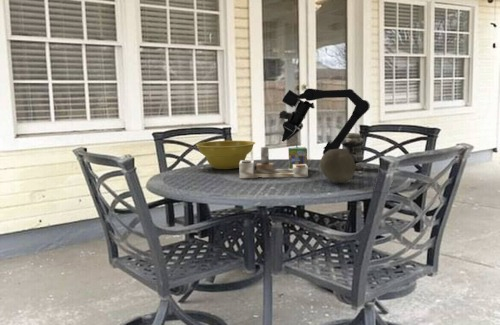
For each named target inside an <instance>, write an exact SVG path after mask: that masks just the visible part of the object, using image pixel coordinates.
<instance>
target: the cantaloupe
mask: <svg viewBox="0 0 500 325" xmlns="http://www.w3.org/2000/svg"><path fill="white" fill-rule="evenodd" d="M320 168H321V171H322V174H323V175H324V177H326V178H327V179H328V180H329V181H330V182H332V183H335V184H339V185H340V184H345V183H347V182H350V181H351V180H352V178H353V177H354V173H355V171H356V170H355V162H354V160H353V158H352V155H351V154H350V153H349V152H348V151H346V150H344V149H342V148H339V149H332V150H329V151H327V152H326V153H325V154H324V155H323V154H322V157H321V158H320Z"/></svg>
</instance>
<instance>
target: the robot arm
mask: <svg viewBox="0 0 500 325" xmlns="http://www.w3.org/2000/svg"><path fill="white" fill-rule="evenodd" d="M332 98H333V99H336V98H348V100H350V101H351V103H352V104H354V105H355V106H354V108H353V111H352V113H351V116H350V117H349V118H348V120H347V121H346V122H345V123H344V126H342V128H341V129H340V131H339V132H338V133H337V135H336V137H335V138H334V139H333V140H329V141H327V143H326V145H325V146H324V147H323V152H322V156H323V155H324V154H325V153H326V152H327V151H329V150H332V149H341V145H342V144H341V143H342V142H343V140H344V139H345V138H346V136H347V135H348V133H351V130H352V129H353V128H354V126H355V125H356V123H357V122H358V121H359V120H360V119H361V118H362V117H363V116H364V115H365V114H366V113H367V112H368V111H369V110H370V108H371V104H370V102H369V101H368V100H366V99H363V98H362V97H361V96H359V95H358V94H357V92H355V90H354V89H352V88H351V89H350V88H348V89H327V90H323V89H318V88H306V89H305V90H304V91H303V92H302V93H300V94H298V93H296V92H294V91H293V90H291V89H288V91H287V93H285V95H283V98H282V103H284V104H285V105H287V106H288V107H289V108H290V107H291V108H294V107H295V110H293V111H292V112H287V110H282V111H280V112H279V113H278V115H279V119H284V120H285V121H283V123H282V128H283V134H282V137H281V142H285V141H286V140H287V141H289V140H290V139H291V138H292V137H294V136H295V135H296V134H298V133H299V132H300V131H301V130H302V129H303V128H304V124H303V120H305V119H306V116H307V114H308V112H309V111H310V109H313V110H314V109H315V108H316V107H315V104H314V102H311V101H316V100H321V99H332Z"/></svg>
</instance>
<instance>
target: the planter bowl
mask: <svg viewBox="0 0 500 325" xmlns="http://www.w3.org/2000/svg"><path fill="white" fill-rule="evenodd" d="M254 145H256V142H255V141H251V140H215V141H213V140H212V141H205V142H200V143H196V144H195V146H197V148H198V150H199V152H200V153H201V154H202V155H203V156H204V157H205V159H206V161H207V162H208V164H209V165H210V167H212V168H213V169H215V170H216V169H217V170H232V169H237V168H239V163H240V161H241V160H246V158H247V155H249V153H251V152H252V150H253V148H254Z"/></svg>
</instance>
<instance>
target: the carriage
mask: <svg viewBox="0 0 500 325" xmlns="http://www.w3.org/2000/svg"><path fill="white" fill-rule="evenodd" d="M269 153H270V152H269V146H261V147H260V162H257V163H256V164H255V165H256V167H255V168H256V170H274V169H275V168H274V162H269V161H270V158H269V155H270V154H269Z"/></svg>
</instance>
